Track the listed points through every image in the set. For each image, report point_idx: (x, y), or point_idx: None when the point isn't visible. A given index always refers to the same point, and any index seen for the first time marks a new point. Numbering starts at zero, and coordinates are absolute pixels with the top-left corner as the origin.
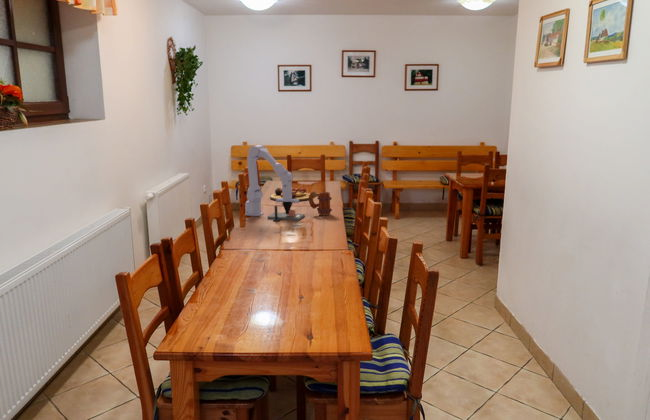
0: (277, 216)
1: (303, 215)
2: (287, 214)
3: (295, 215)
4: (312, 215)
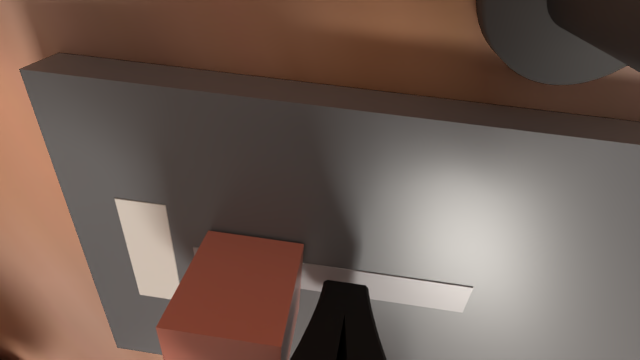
0: (582, 8)
1: (108, 302)
2: None
3: None
4: (82, 355)
